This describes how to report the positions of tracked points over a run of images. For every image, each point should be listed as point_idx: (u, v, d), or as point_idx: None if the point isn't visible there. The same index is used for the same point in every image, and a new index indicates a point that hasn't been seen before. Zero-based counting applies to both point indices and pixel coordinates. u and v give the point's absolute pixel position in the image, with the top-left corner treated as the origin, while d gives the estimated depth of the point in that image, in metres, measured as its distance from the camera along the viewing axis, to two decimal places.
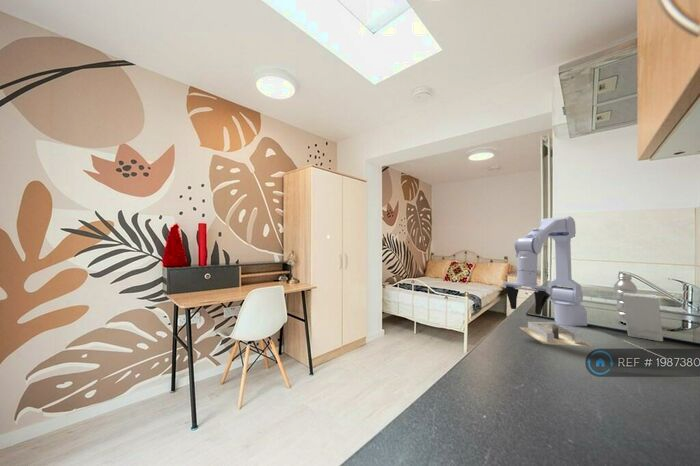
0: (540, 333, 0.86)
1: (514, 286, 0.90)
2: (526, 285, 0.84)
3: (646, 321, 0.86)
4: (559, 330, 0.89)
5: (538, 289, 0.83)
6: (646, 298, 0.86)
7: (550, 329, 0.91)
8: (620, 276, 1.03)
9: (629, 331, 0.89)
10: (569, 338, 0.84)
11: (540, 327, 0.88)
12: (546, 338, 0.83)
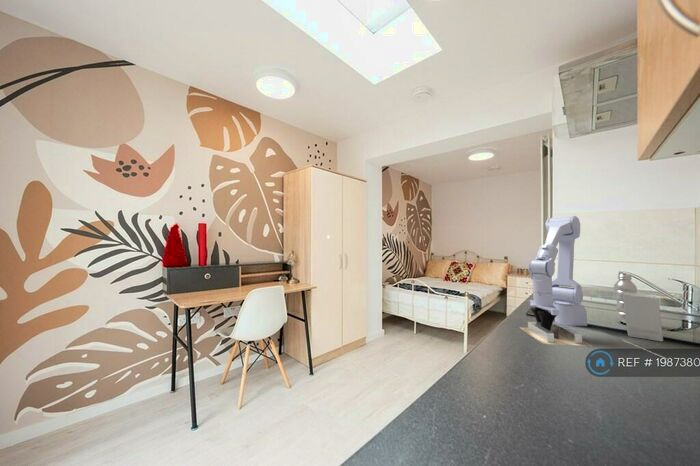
0: (540, 333, 0.86)
1: None
2: (537, 306, 0.92)
3: (646, 321, 0.86)
4: (559, 330, 0.89)
5: (548, 310, 0.89)
6: (646, 298, 0.86)
7: None
8: (620, 276, 1.03)
9: (629, 331, 0.89)
10: (569, 338, 0.84)
11: (540, 327, 0.88)
12: (546, 338, 0.83)
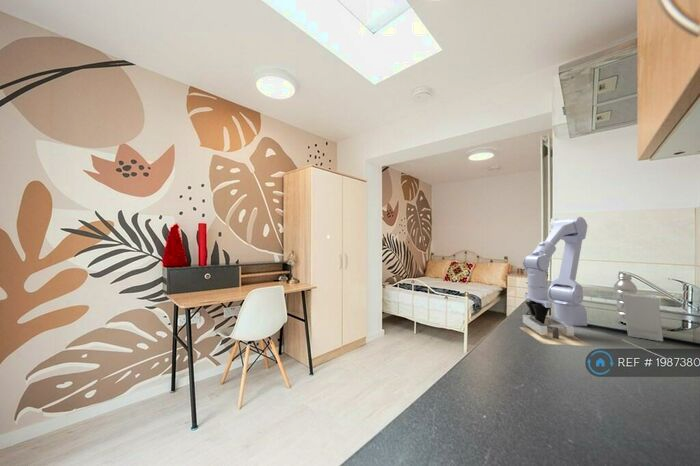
0: (534, 325, 0.90)
1: None
2: (531, 299, 0.96)
3: (646, 321, 0.86)
4: (552, 323, 0.92)
5: (542, 303, 0.93)
6: (646, 298, 0.86)
7: (544, 322, 0.95)
8: (620, 276, 1.03)
9: (629, 331, 0.89)
10: (562, 330, 0.87)
11: (534, 320, 0.92)
12: (540, 331, 0.87)
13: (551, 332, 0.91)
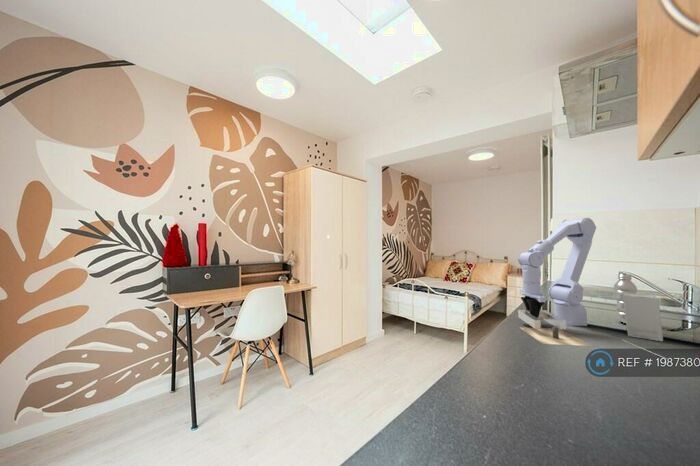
0: (528, 320, 0.94)
1: None
2: (526, 294, 0.99)
3: (646, 321, 0.86)
4: (546, 317, 0.96)
5: (536, 298, 0.97)
6: (646, 298, 0.86)
7: None
8: (620, 276, 1.03)
9: (629, 331, 0.89)
10: (555, 324, 0.91)
11: (529, 315, 0.95)
12: (534, 324, 0.90)
13: (551, 332, 0.91)
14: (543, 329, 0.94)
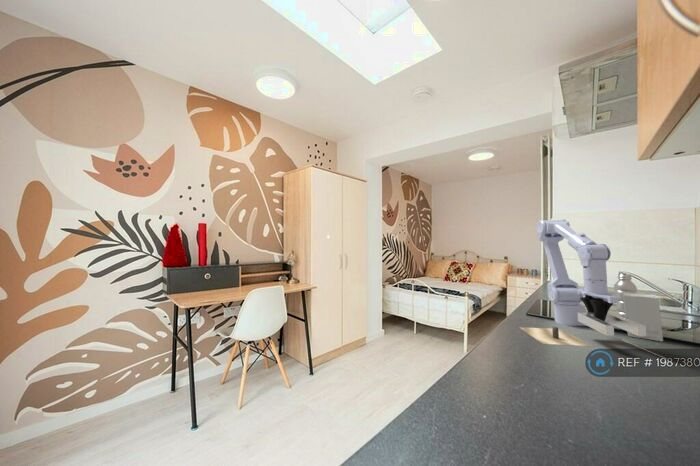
0: (596, 325, 0.79)
1: None
2: (589, 294, 0.85)
3: (646, 321, 0.86)
4: (615, 321, 0.81)
5: (604, 298, 0.82)
6: (646, 298, 0.86)
7: None
8: (620, 276, 1.03)
9: None
10: (630, 330, 0.76)
11: (595, 318, 0.81)
12: (605, 331, 0.76)
13: (551, 332, 0.91)
14: (543, 329, 0.94)
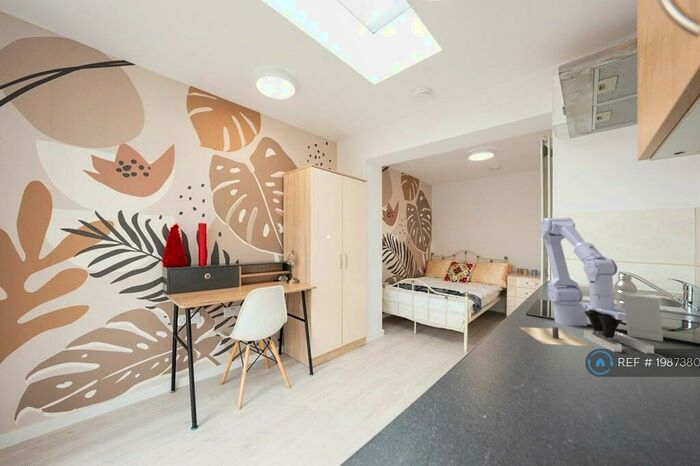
0: (603, 343, 0.79)
1: None
2: (595, 309, 0.84)
3: (646, 321, 0.86)
4: (622, 340, 0.81)
5: (610, 314, 0.81)
6: (646, 298, 0.86)
7: (610, 339, 0.83)
8: (620, 276, 1.03)
9: (629, 331, 0.89)
10: None
11: (602, 337, 0.80)
12: (612, 350, 0.75)
13: (551, 332, 0.91)
14: (543, 329, 0.94)
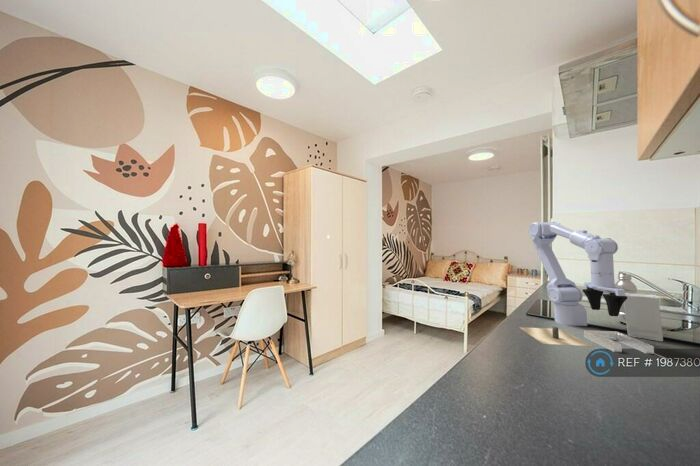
0: (603, 343, 0.79)
1: (593, 287, 0.91)
2: (596, 287, 0.86)
3: (646, 321, 0.86)
4: (622, 340, 0.81)
5: (611, 291, 0.83)
6: (646, 298, 0.86)
7: (610, 339, 0.83)
8: (620, 276, 1.03)
9: (629, 331, 0.89)
10: None
11: (602, 337, 0.80)
12: (612, 350, 0.75)
13: (551, 332, 0.91)
14: (543, 329, 0.94)
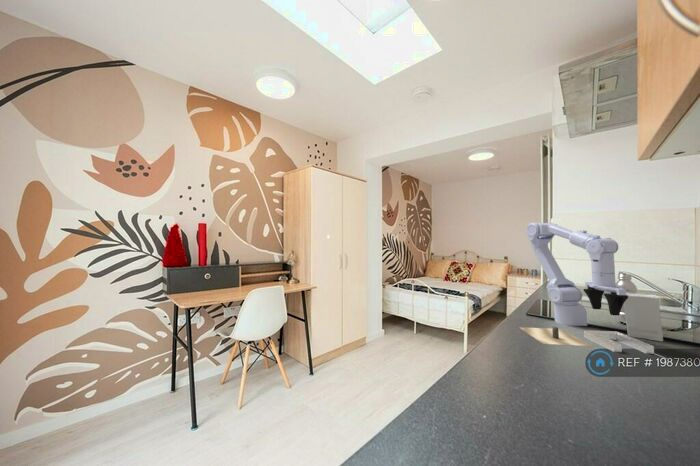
0: (603, 343, 0.79)
1: None
2: (597, 287, 0.87)
3: (646, 321, 0.86)
4: (622, 340, 0.81)
5: (612, 290, 0.84)
6: (646, 298, 0.86)
7: (610, 339, 0.83)
8: (620, 276, 1.03)
9: (629, 331, 0.89)
10: None
11: (602, 337, 0.80)
12: (612, 350, 0.75)
13: (551, 332, 0.91)
14: (543, 329, 0.94)
